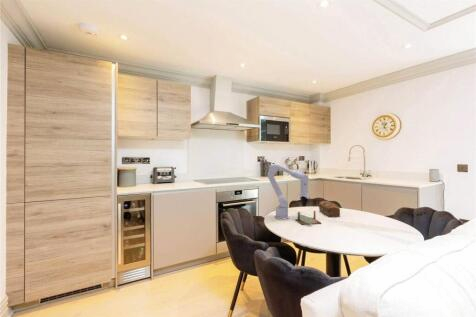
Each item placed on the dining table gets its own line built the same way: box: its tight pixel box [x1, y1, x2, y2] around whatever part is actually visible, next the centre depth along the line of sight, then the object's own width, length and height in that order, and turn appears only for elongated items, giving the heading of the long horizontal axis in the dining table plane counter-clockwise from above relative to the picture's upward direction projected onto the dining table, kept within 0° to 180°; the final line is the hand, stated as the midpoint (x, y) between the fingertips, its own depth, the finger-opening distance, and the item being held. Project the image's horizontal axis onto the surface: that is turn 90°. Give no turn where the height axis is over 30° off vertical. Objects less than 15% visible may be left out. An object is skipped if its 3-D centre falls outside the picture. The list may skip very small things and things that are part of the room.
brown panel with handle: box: [294, 210, 322, 226], centre depth 171 cm, size 16×12×7 cm
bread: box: [318, 200, 341, 218], centre depth 191 cm, size 19×11×10 cm, turn 2°
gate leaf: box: [300, 212, 313, 225], centre depth 165 cm, size 11×2×5 cm, turn 26°
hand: (304, 206), depth 182 cm, fingers closed
